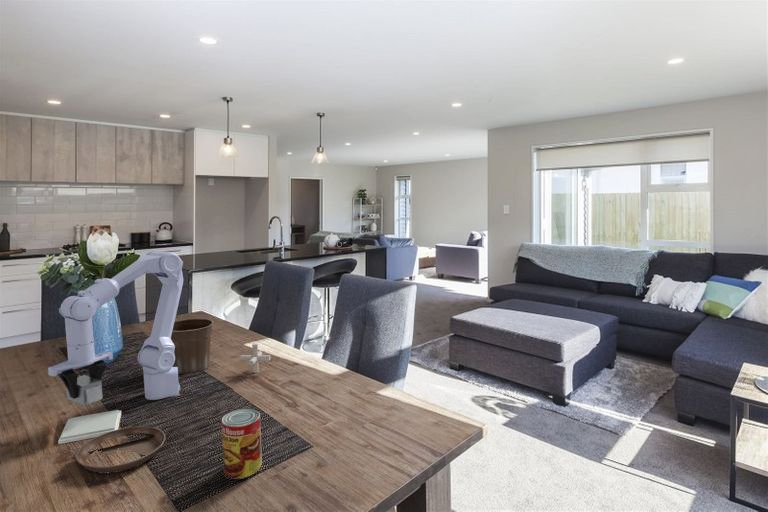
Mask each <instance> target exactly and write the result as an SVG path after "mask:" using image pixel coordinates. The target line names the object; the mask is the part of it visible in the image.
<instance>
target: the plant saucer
mask: <svg viewBox="0 0 768 512" xmlns="http://www.w3.org/2000/svg"><path fill="white" fill-rule="evenodd" d="M134 434H136V435H137V434H148V435H151V436H148V437H144V438H139V439H136V440H132V441H127V442H124V443H120V444H116V445H111V446H107V447H103V448H99V449H100V450H99V449H95V450H92V449H94V448H95V447H97V446H99V445H101V444H102V443H105V442H107V441H110V440H113V439H116V438H120V437H123V436H128V435H134ZM165 440H166V434H165V432H164V431H163V430H161V429H159V428H157V427H152V426H142V425H141V426H129V427H124V428H118V430H115V431H111V432H108V433H105V434H103V435H100V436H98V437H94V438H91V439H90V440H89V441H86V442H85V443H84V444H83V445H82V446H81V447H80V448H79V449H78V450H77V453H75V454H76V455H75V458H76V459H75V460H76V461H77V462H78V464H80V465H81V466H82V467H83V468H85V469H87V470H88V471H90V472H92V471H93V472H92V473H95V472H102V473H101V474H103V473H105V472H106V473H107V472H116V471H121V472H123V471H122V470H125V471H127V470H126V469H129V468H132V467H135V466H137V465H139V466H140V464H141V465H143V464H144V462H145V463H146V461H147V460H148V461H150V460H149V459H150V458H151V459H152V458H154V456H155V455H156V454H157V453H158V452H159V450H160V449H161V448H162V446H163V444H164V443H165ZM118 448H119V451H124V452H125V451H127V450H131V451H127V452H136V453H139V454H142V455H145V456H142V457H141V456H140V457H141V458H139V459H136V460H134V461H131V462H127V463H123V464H119V465H113V466H90V465H86V464H85V460H86V459H87V457H89V455H90V454H92V453H93V452H94V451H96V450H98V451H101V450H102V453H103V454H105V453H106V452H107V454H108V455H112V454H114V453H117V452H116V451H117V450H118ZM103 454H102V455H103ZM148 461H147V462H148ZM142 463H143V464H142ZM137 467H138V466H137ZM135 468H136V467H135ZM132 469H133V468H132ZM129 470H130V469H129ZM116 473H117V472H116ZM107 474H108V473H107Z"/></svg>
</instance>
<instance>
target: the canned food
mask: <svg viewBox="0 0 768 512" xmlns="http://www.w3.org/2000/svg"><path fill="white" fill-rule="evenodd" d="M261 430H262V429H261V413H260V412H259V411H258V410H255V409H252V408H240V409H235V410H232V411H229V412H228V413H226V414H225V415H223V417H222V418H221V434H222V435H221V436H222V437H221V438H222V456H223V474H224V473H225V475H226V476H229V477H232V478H243V477H247V476H250V475H252V474H254V473H255V472H257V471H258V470H259V469H260V467H261V465H262V466H263V462H262V460H263V459H262V436H261V434H262V433H261V432H262V431H261ZM225 475H224V476H225ZM226 476H225V477H226Z"/></svg>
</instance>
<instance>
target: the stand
mask: <svg viewBox="0 0 768 512" xmlns="http://www.w3.org/2000/svg"><path fill="white" fill-rule="evenodd" d="M121 417H122V410H119V409H115V410H110V411H103V412H99V413H98V412H97V413H93V414H87V415H81V416H75V417H69V419H67V420H66V424H65V426H64V428H63V430H62V432H61V434H60V436H59V438H58V441H57V442H58V445H61V444H67V443H72V442H78V441H83V440H88V439H94V438H96V437H98V436H100V435H103V434H105V433H108V432H111V431H115V430H119V425H120V422H121Z"/></svg>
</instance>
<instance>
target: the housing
mask: <svg viewBox="0 0 768 512" xmlns="http://www.w3.org/2000/svg"><path fill="white" fill-rule="evenodd" d="M102 384H103V383H102V379H101V380H98V379H95V378H92V377H90V375H89V376H88V375H85V374H83V375H81V376H79V375H78V378H77V392H78V397H77V398H75V399H74V398H71V397H70V394H69V391H68V389H67V387H66V386H65V387H66V388H65V390H66V400H69V401H71V402H73V403H76V404H79V405H81V406H87V405H90V404H93V403H95V402H98V401H101V400H103V397H104V395H103V396H102V393H103V385H102Z"/></svg>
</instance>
